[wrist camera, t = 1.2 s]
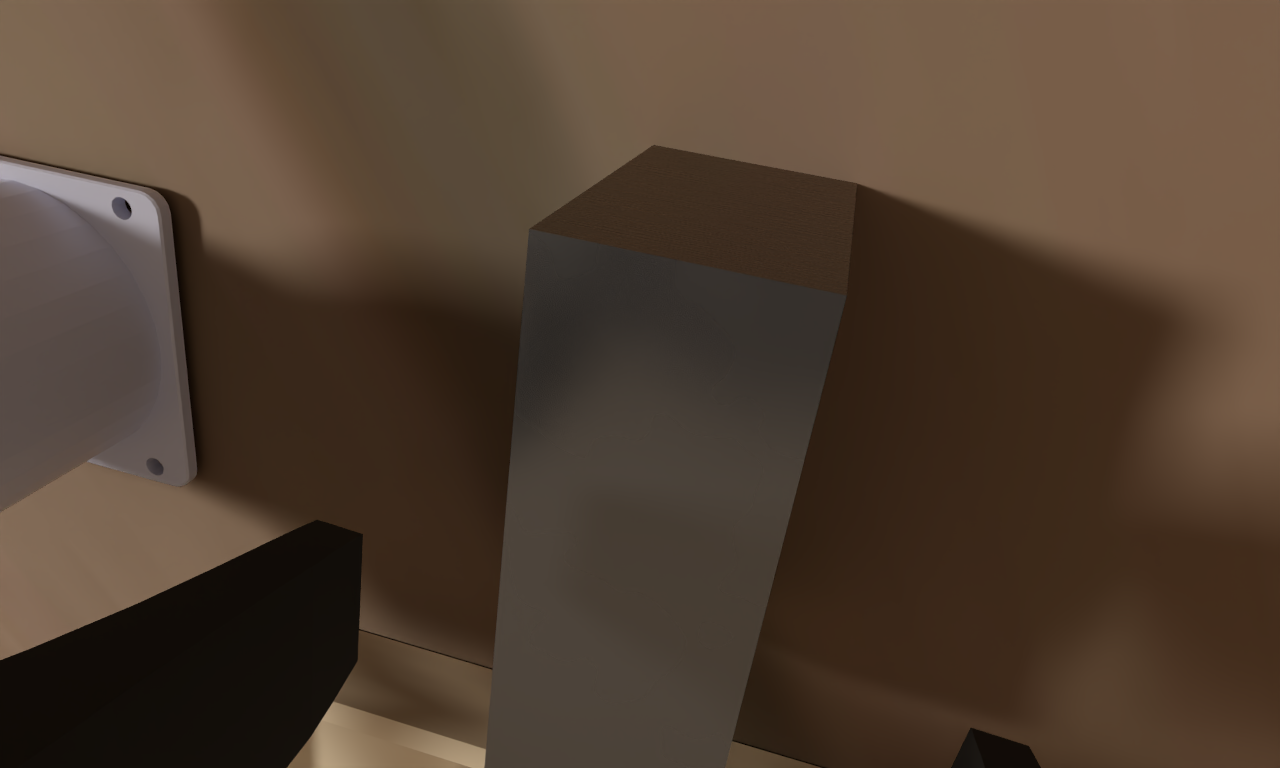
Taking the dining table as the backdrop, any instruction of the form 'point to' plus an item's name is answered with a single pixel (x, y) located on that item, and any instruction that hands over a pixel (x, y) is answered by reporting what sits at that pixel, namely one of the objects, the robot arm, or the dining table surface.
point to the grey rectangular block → (658, 453)
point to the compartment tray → (426, 715)
